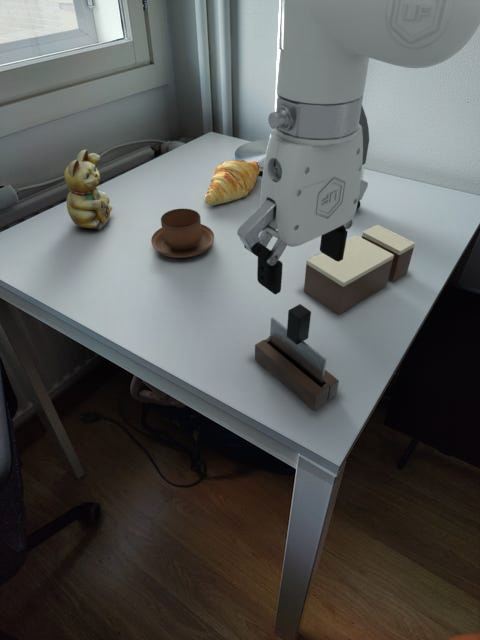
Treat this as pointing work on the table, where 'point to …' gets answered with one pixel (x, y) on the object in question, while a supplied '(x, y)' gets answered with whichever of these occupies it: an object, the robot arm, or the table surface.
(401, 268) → the cake slice
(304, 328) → the metal dough scraper
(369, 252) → the cake
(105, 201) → the decorative figurine
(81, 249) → the table surface
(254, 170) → the croissant
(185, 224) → the cup and saucer
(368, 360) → the table surface
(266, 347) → the knife stand
